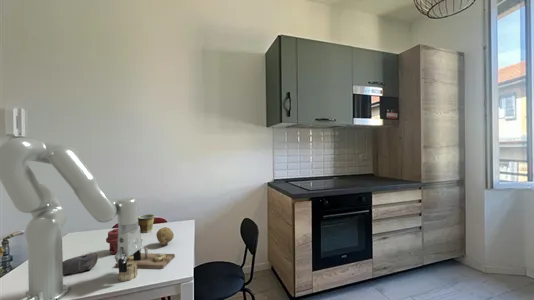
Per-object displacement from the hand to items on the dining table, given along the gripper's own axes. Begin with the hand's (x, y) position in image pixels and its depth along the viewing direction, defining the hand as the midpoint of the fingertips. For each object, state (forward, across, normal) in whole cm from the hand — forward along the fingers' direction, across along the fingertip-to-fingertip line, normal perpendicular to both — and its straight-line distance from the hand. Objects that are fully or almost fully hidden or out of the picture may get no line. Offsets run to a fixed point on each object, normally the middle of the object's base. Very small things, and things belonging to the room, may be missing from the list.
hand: (130, 265), depth 105 cm
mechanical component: (+5, +23, +23) cm, 33 cm away
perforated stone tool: (+4, +2, +27) cm, 27 cm away
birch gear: (+5, -1, +1) cm, 5 cm away
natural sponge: (+6, +34, +2) cm, 35 cm away
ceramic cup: (+5, +56, +27) cm, 63 cm away
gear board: (+5, +13, +1) cm, 14 cm away
